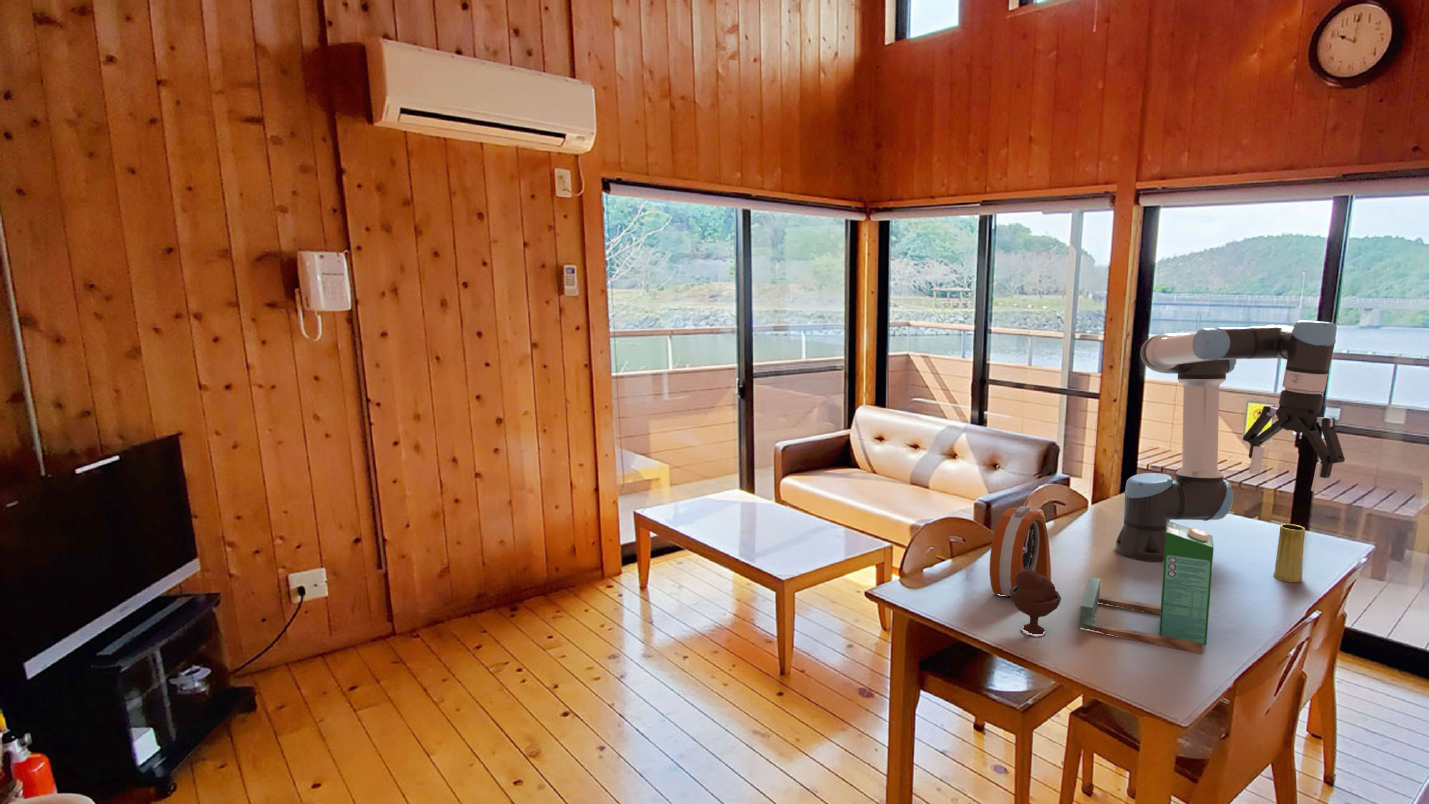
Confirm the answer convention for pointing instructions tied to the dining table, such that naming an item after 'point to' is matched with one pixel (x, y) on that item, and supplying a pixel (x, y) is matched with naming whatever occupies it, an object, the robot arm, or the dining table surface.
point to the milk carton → (1186, 583)
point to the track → (1087, 620)
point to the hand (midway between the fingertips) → (1284, 481)
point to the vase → (1290, 553)
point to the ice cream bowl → (1034, 597)
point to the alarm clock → (1018, 548)
